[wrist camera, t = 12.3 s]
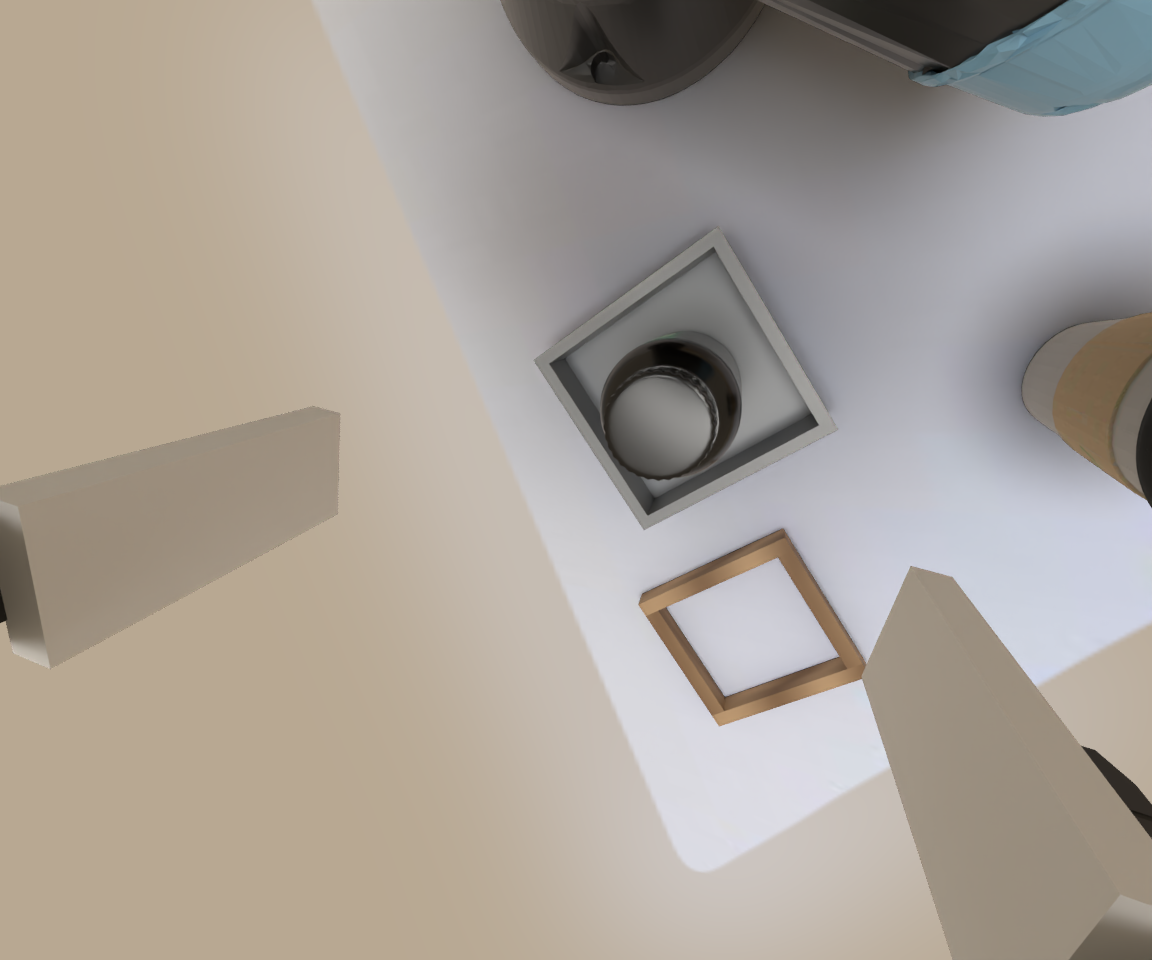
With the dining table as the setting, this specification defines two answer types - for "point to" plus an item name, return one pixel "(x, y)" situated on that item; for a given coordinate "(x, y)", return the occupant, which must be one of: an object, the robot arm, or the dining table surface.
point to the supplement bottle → (672, 406)
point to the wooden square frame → (774, 691)
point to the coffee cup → (1099, 395)
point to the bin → (726, 313)
